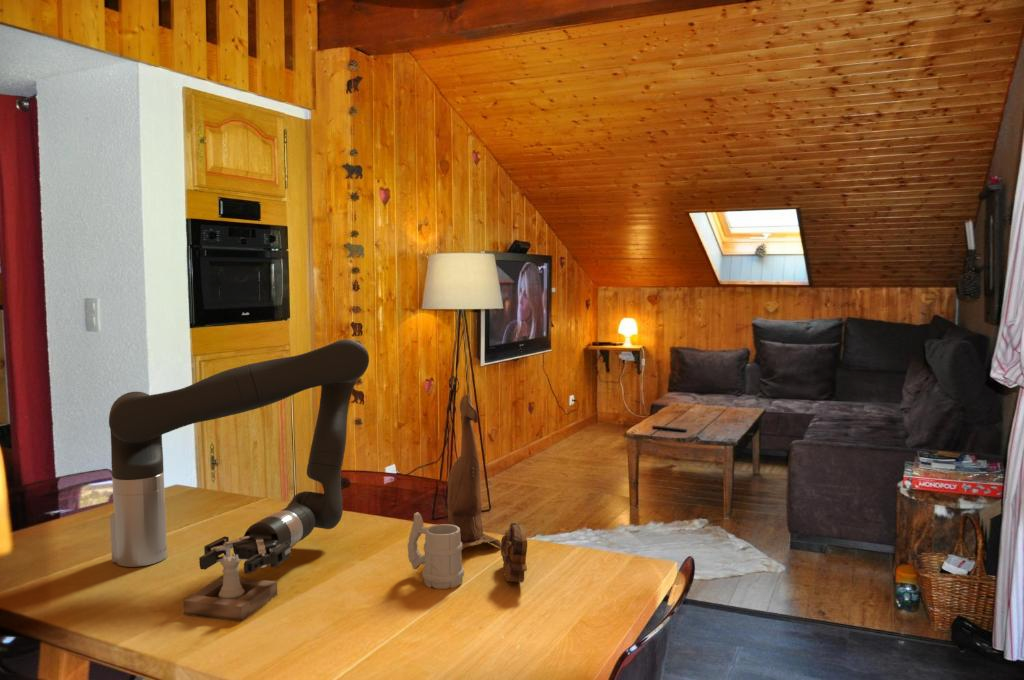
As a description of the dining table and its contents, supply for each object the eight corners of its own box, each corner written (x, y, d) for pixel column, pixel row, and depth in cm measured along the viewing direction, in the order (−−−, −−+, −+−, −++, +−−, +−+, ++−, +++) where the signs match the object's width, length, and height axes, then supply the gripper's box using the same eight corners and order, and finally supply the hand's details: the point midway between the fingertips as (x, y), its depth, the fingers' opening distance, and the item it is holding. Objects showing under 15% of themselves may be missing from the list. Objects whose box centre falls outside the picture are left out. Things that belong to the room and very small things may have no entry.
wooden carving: (492, 563, 158) (492, 513, 158) (515, 561, 159) (515, 512, 159) (509, 597, 142) (509, 541, 142) (535, 594, 143) (535, 539, 142)
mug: (448, 593, 144) (447, 527, 143) (396, 580, 150) (395, 516, 149) (472, 578, 151) (471, 515, 150) (421, 567, 157) (420, 506, 156)
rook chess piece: (251, 598, 141) (249, 553, 140) (234, 608, 137) (232, 562, 136) (229, 594, 143) (228, 550, 142) (212, 604, 138) (210, 559, 138)
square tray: (183, 614, 136) (182, 600, 135) (222, 589, 146) (222, 575, 146) (241, 621, 133) (241, 606, 133) (277, 595, 144) (276, 581, 143)
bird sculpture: (457, 562, 160) (460, 402, 156) (425, 545, 169) (427, 393, 165) (502, 550, 167) (506, 397, 163) (469, 534, 176) (472, 388, 172)
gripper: (240, 513, 154) (185, 541, 138) (308, 518, 151) (260, 548, 135) (241, 551, 155) (187, 583, 139) (309, 558, 151) (262, 591, 136)
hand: (223, 566), depth 137 cm, fingers open, 8 cm apart
